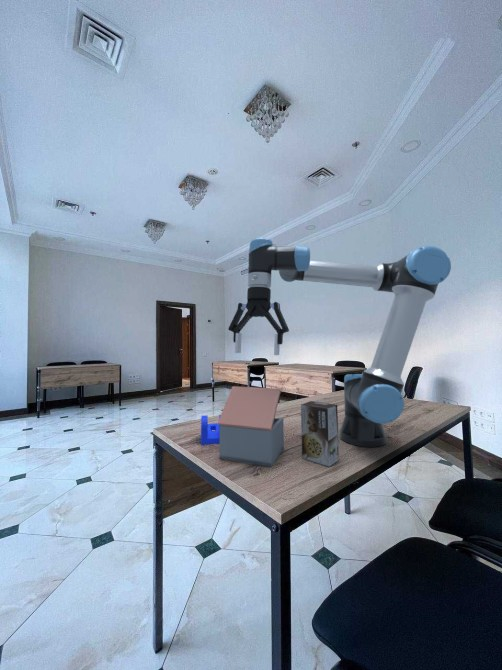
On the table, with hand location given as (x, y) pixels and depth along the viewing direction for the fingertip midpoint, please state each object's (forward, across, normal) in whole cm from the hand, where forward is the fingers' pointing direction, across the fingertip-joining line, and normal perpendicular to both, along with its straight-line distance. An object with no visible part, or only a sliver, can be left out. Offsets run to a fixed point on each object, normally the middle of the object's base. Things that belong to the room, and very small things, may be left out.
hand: (256, 354), depth 89 cm
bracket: (+32, -20, +8) cm, 38 cm away
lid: (+16, 0, -4) cm, 17 cm away
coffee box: (+30, +21, +3) cm, 37 cm away
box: (+31, +1, -2) cm, 31 cm away
